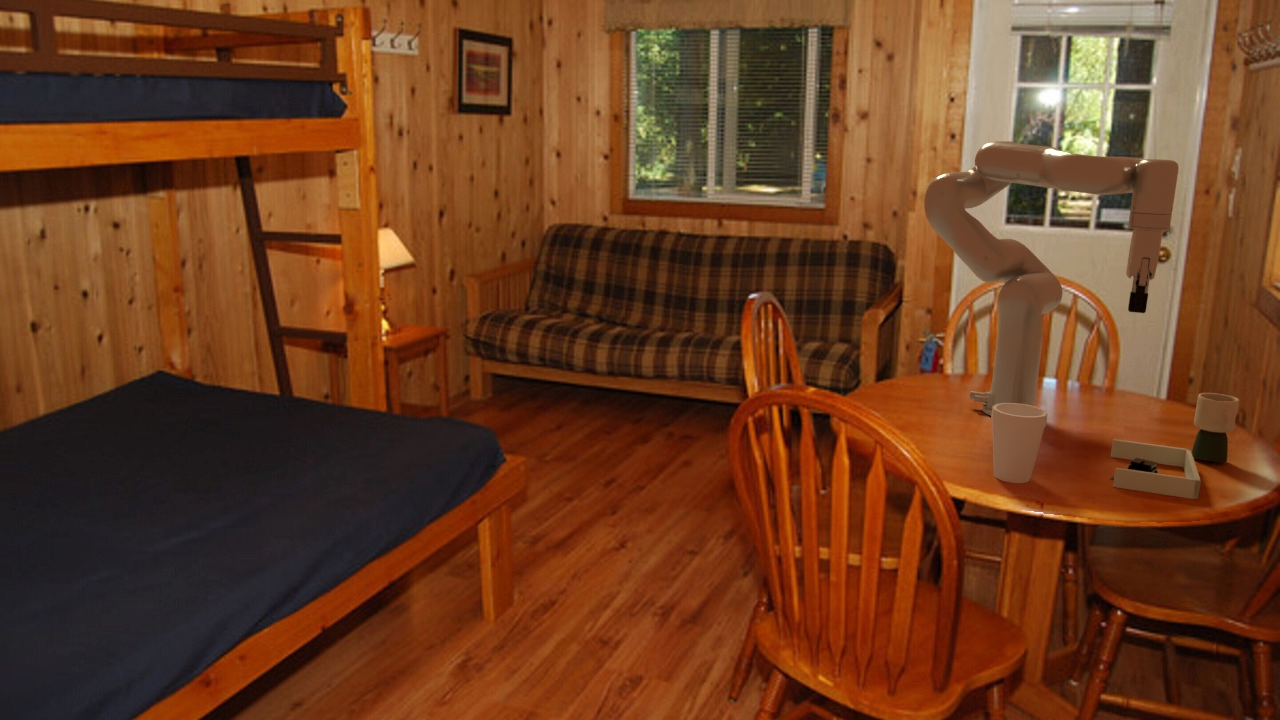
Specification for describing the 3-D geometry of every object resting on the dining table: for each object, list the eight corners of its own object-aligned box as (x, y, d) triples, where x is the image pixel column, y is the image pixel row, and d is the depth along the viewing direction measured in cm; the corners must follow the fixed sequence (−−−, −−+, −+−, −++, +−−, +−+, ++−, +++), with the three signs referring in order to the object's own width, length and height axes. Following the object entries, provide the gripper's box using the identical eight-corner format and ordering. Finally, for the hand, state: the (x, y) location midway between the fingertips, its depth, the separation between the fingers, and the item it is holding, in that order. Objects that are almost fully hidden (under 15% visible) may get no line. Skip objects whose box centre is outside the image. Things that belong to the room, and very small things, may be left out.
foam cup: (996, 485, 180) (1004, 416, 177) (977, 468, 189) (984, 402, 186) (1047, 486, 180) (1056, 417, 177) (1026, 469, 189) (1034, 403, 186)
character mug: (1242, 470, 192) (1253, 405, 189) (1204, 469, 192) (1215, 404, 189) (1211, 452, 202) (1222, 390, 199) (1176, 451, 202) (1186, 389, 199)
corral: (1113, 486, 181) (1115, 468, 180) (1110, 455, 198) (1113, 439, 197) (1197, 499, 175) (1200, 480, 175) (1187, 466, 193) (1190, 449, 192)
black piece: (1098, 481, 186) (1101, 457, 184) (1113, 472, 191) (1116, 449, 190) (1170, 498, 177) (1173, 474, 176) (1183, 489, 182) (1186, 465, 181)
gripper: (1127, 218, 208) (1115, 304, 212) (1130, 223, 194) (1117, 316, 199) (1167, 220, 205) (1154, 307, 209) (1173, 226, 191) (1159, 319, 196)
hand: (1136, 311), depth 204 cm, fingers closed
